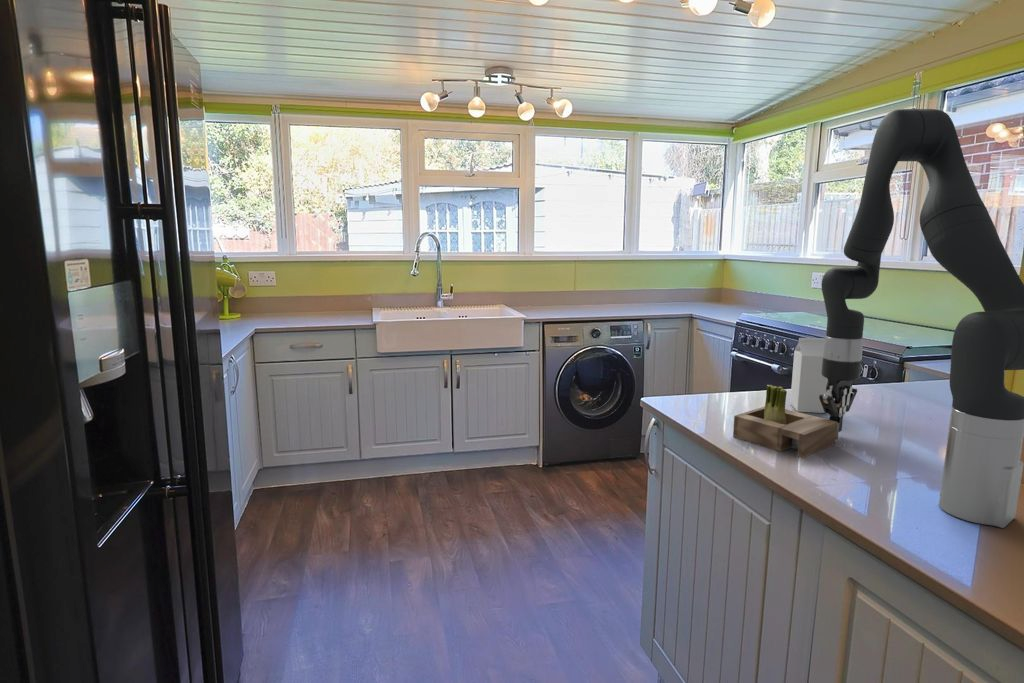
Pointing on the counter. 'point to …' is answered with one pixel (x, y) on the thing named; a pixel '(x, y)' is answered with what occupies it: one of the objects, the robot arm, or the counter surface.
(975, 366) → the robot arm
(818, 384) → the milk carton
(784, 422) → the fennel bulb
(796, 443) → the lock pin
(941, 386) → the counter surface
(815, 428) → the dock
